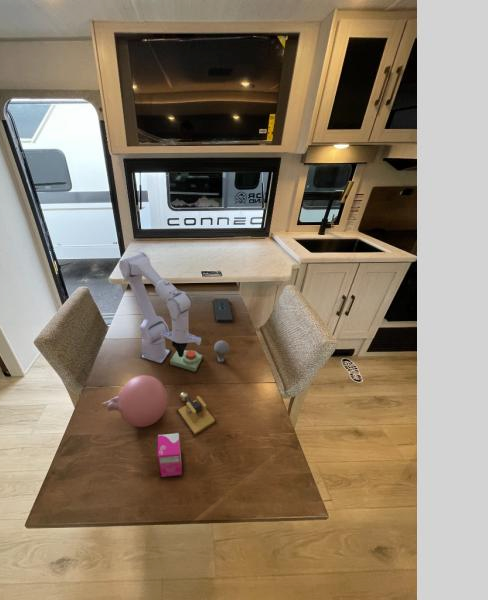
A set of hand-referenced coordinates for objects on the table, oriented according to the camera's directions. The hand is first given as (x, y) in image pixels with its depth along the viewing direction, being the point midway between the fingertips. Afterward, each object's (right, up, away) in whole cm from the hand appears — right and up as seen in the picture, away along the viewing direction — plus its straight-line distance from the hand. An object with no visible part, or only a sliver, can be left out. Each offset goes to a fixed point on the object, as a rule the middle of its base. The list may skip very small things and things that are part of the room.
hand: (181, 355), depth 98 cm
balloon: (-14, -19, -10) cm, 25 cm away
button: (+3, -2, +9) cm, 10 cm away
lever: (+4, -15, -9) cm, 18 cm away
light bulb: (+16, -5, +12) cm, 21 cm away
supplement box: (-2, -27, -23) cm, 35 cm away
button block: (+2, -5, +11) cm, 13 cm away
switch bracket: (+5, -19, -10) cm, 22 cm away
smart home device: (+20, +14, +43) cm, 50 cm away
